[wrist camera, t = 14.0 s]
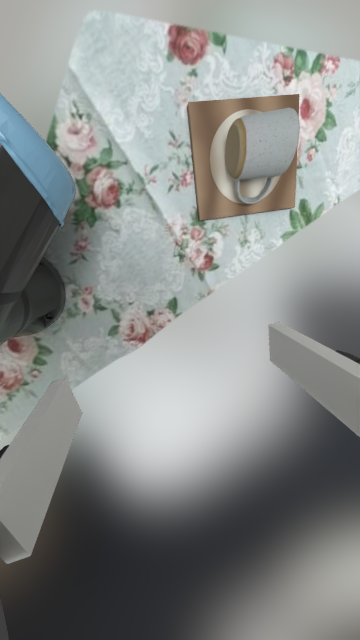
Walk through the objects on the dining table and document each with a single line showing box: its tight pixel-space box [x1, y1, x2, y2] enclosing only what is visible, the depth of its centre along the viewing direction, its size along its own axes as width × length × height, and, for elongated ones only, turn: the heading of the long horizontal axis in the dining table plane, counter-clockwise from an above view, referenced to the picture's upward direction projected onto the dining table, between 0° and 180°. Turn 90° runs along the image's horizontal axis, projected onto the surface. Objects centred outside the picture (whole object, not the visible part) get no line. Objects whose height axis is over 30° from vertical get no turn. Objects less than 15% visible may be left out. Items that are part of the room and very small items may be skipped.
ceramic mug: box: [225, 108, 300, 204], centre depth 31 cm, size 11×8×8 cm
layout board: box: [187, 94, 299, 221], centre depth 35 cm, size 18×16×1 cm
